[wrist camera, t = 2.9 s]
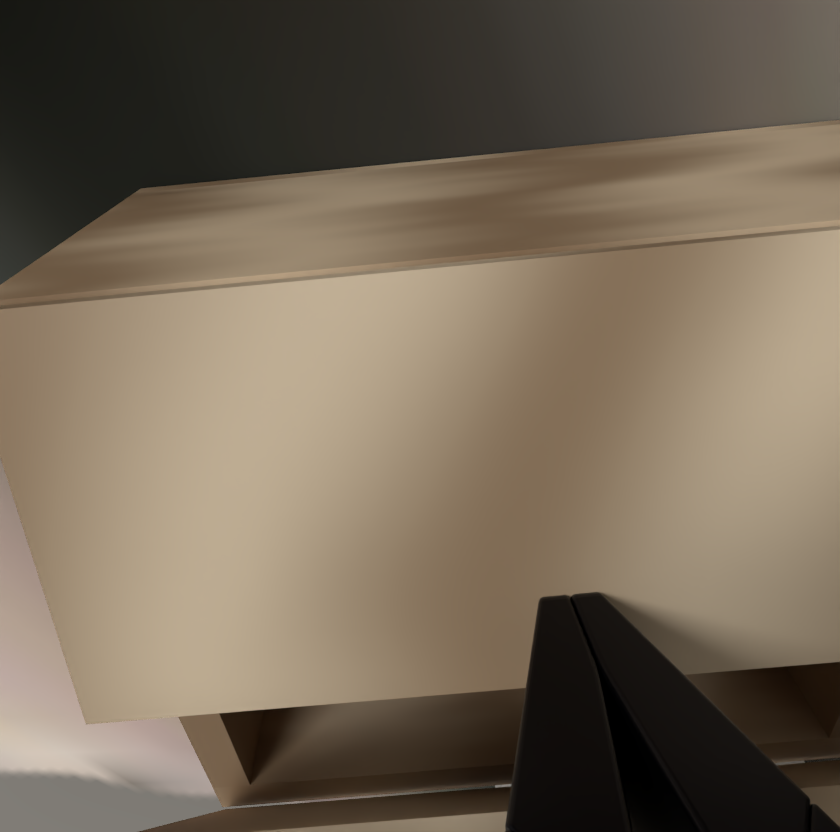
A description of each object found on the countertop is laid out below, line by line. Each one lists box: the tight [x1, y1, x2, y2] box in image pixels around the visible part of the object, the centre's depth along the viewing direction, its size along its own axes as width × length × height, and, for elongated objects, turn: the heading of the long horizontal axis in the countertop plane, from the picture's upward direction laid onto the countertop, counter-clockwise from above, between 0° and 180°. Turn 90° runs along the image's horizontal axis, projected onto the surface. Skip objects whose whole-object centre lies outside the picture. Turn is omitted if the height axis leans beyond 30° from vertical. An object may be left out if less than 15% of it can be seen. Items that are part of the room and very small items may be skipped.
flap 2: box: [139, 760, 840, 832], centre depth 11 cm, size 14×6×1 cm, turn 95°
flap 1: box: [0, 226, 840, 724], centre depth 8 cm, size 14×6×1 cm, turn 95°
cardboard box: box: [0, 120, 840, 807], centre depth 13 cm, size 14×12×6 cm
